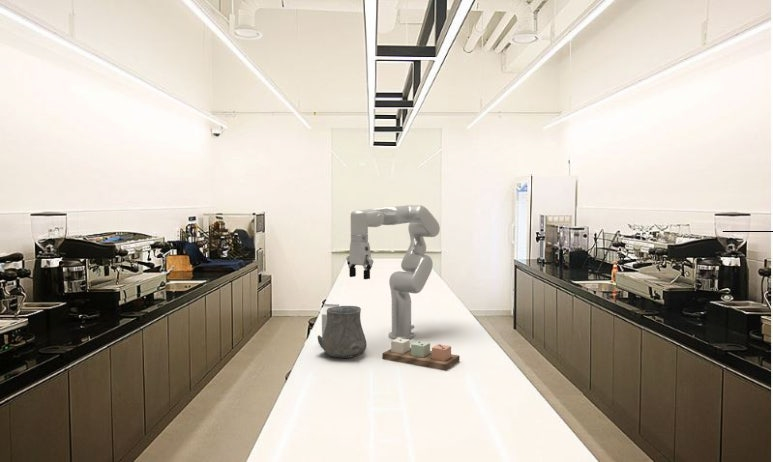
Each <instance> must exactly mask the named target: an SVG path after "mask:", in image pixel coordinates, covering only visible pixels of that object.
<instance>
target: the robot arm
mask: <svg viewBox="0 0 773 462" xmlns="http://www.w3.org/2000/svg"><path fill="white" fill-rule="evenodd" d="M408 223H409V224H408ZM400 224H401V225H402V224H408V228H407V230H408V234H409V238H410V244H409V246H408V248H407V250H406V252H405V254H404V256H403V257H402V260H401V262H400V263H401V264H400V267H401V269H402V270H403V271H402V270H401V271H395V272H393V273H391V274H390V276H389V281H388V283H389V284H388V285H389V288H390V289H389V290H390V294H391V331H390V332H389V333H388V337H389V339H392V340H395V339H397V338H402V339H408V340H410V339H413V338H414V337H415V333H414V332H413V330H414V329H415V325H414V324H412V298H411V295H410V294H419V293H420V292H422V290H423V289H424V287H425V285H426V283H427V282H428V279H429V278H430V277H429V276H430V275H431V273H432V270H433V258H431V257H430V256H429V255H428V254H426V252H427V244H426V241H425V239H424V238H435V237H437V236H438V235H439V233H440V228H441V227H440V224H439V221H438V220H437V219H436V218H435V217H434V216H433V214H432V213H431V212H430V211H429V209H427V208H426V206H423V205H421V204H420V205H419V204H415V205H414V204H409V205H408V204H407V205H399V206H398V205H397V206H389V207H388V206H386V207H380V208H369V209H361V210H355V211H354V210H353V211H351V213H350V243H349V254H348V256H347V257H345V258H346V262H347V265H348V271H349V278H354V277H356V275H357V268H356V266H362V268H363V280H370V279H371V270H372V267H373V264H374V260H373V258H372V254H371V253H372V252H371V246H370V242H369V233H368V232H369V228H380V227H381V226H395V225H400Z"/></svg>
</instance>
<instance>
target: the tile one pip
mask: <svg viewBox="0 0 773 462" xmlns="http://www.w3.org/2000/svg"><path fill="white" fill-rule="evenodd" d="M410 348H411V340H410V339H402V338H397V339H392V340H391V341H390V349H391V352H395V353H400V354H404V353H406V352H408V351H410Z"/></svg>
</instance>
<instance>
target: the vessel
mask: <svg viewBox="0 0 773 462" xmlns="http://www.w3.org/2000/svg"><path fill="white" fill-rule="evenodd" d="M361 311H362V308H361V307H360V306H357V305H339V306H337V307H331V308H328V309H327V323H326V327H325V331H324V334H323V336H322V335H319V334H318V335H317V341H318V344H319V346H320V347H321V349H322V350H323V351H324V352H325V353H326V354H327V355H330V356H331V357H335V358H339V359H341V358H342V359H344V358H353V357H357V356H358V357H359V356H360V355H362V354H363V353H364V352H365V351H366V350H367V346H368V345H367V340H366V335H365V333H364V329H363V326H362V322H361V321H362V320H361Z"/></svg>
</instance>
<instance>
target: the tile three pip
mask: <svg viewBox="0 0 773 462" xmlns="http://www.w3.org/2000/svg"><path fill="white" fill-rule="evenodd" d="M431 351H432V359H435V360H440V361H446V360H448V359H450V358H451V354H452V346H451V345H446V344H436V345H434V346H432V347H431Z"/></svg>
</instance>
